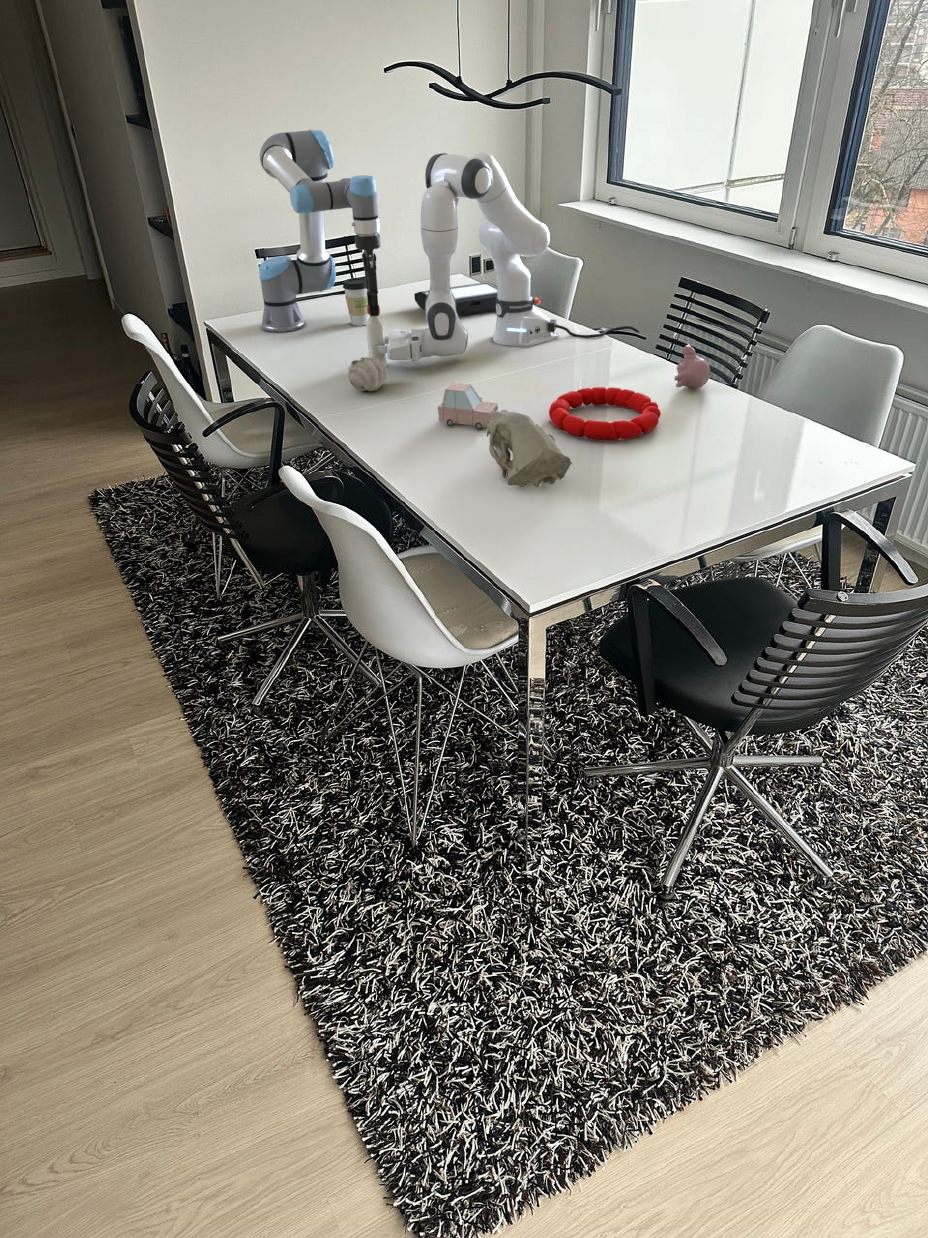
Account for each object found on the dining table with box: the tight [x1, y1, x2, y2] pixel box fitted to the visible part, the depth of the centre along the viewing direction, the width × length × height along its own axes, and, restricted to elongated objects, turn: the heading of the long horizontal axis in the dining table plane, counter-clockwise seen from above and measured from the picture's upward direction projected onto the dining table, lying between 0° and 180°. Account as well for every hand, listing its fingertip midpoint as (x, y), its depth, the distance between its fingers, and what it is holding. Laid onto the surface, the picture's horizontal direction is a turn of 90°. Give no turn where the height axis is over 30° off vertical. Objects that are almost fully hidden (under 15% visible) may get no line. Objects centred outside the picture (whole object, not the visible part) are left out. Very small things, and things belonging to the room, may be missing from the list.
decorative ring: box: [548, 386, 661, 442], centre depth 242 cm, size 7×30×30 cm
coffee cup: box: [342, 277, 370, 327], centre depth 323 cm, size 10×10×15 cm
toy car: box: [437, 382, 499, 431], centre depth 243 cm, size 9×15×10 cm, turn 70°
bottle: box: [365, 315, 388, 367], centre depth 282 cm, size 6×6×18 cm
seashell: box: [347, 356, 388, 392], centre depth 266 cm, size 10×15×10 cm
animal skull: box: [485, 409, 573, 489], centre depth 216 cm, size 17×25×20 cm
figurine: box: [674, 344, 711, 390], centre depth 259 cm, size 9×11×12 cm
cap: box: [367, 304, 381, 316], centre depth 278 cm, size 4×4×2 cm
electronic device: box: [413, 281, 497, 317], centre depth 337 cm, size 32×6×20 cm
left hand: (373, 313), depth 278 cm, fingers closed on cap, 4 cm apart
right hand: (373, 344), depth 284 cm, fingers closed on bottle, 5 cm apart
